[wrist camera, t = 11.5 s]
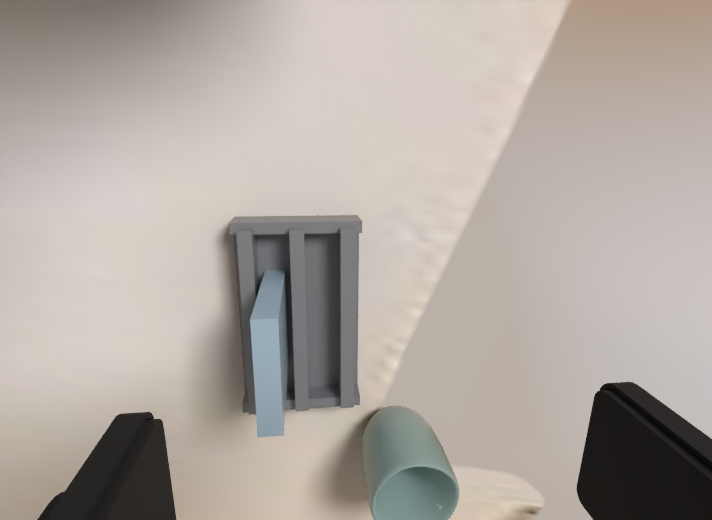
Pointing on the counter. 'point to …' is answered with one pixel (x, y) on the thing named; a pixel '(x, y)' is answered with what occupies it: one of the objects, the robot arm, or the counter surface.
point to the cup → (406, 468)
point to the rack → (305, 302)
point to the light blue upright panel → (270, 353)
